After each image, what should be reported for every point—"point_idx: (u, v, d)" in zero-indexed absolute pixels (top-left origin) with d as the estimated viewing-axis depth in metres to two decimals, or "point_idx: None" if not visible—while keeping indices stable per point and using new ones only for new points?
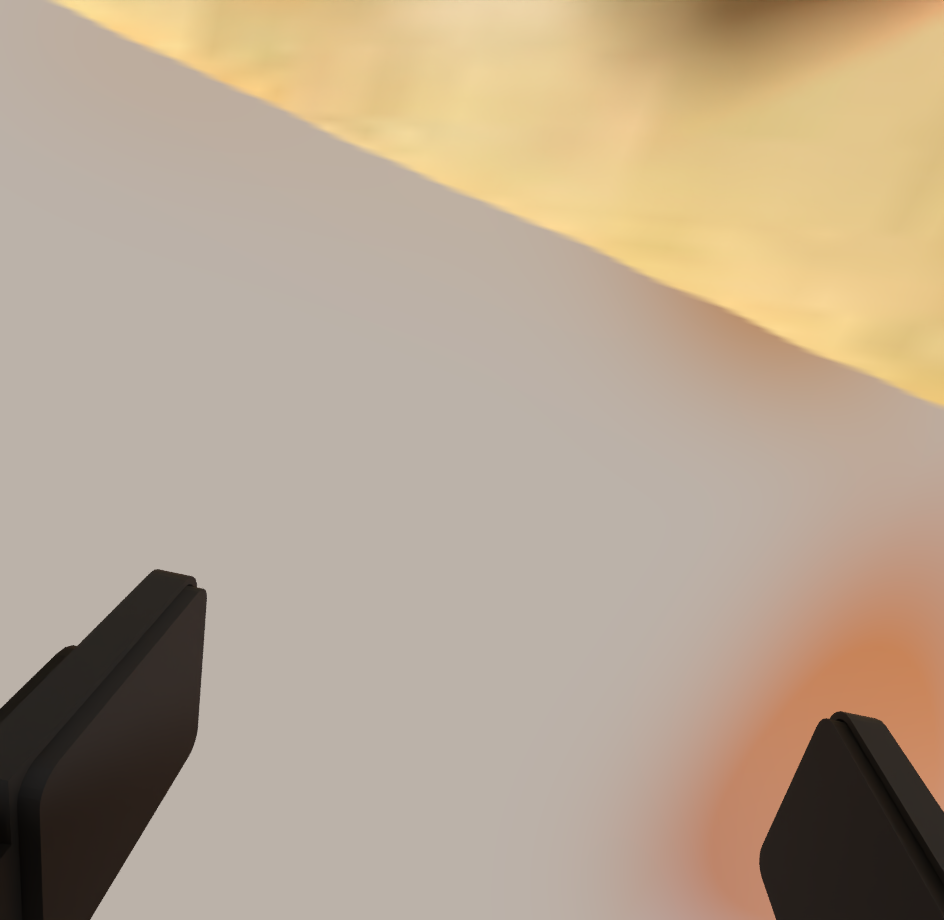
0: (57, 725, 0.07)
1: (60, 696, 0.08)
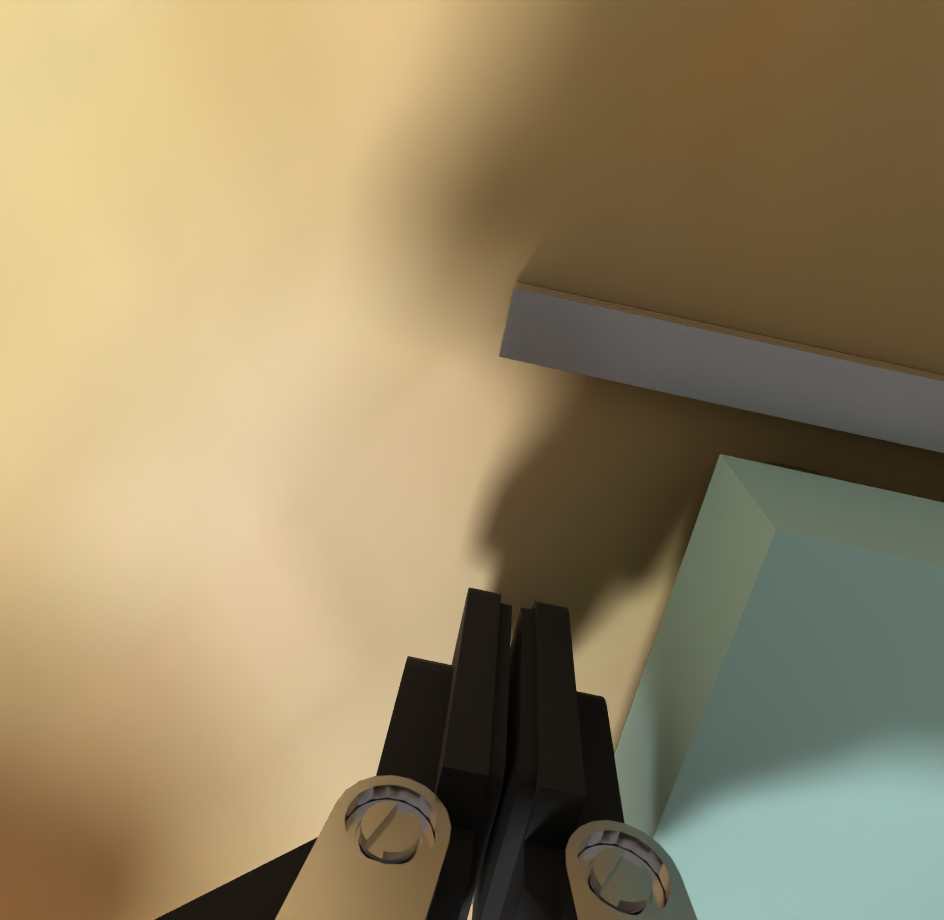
0: (491, 728, 0.08)
1: (476, 703, 0.09)
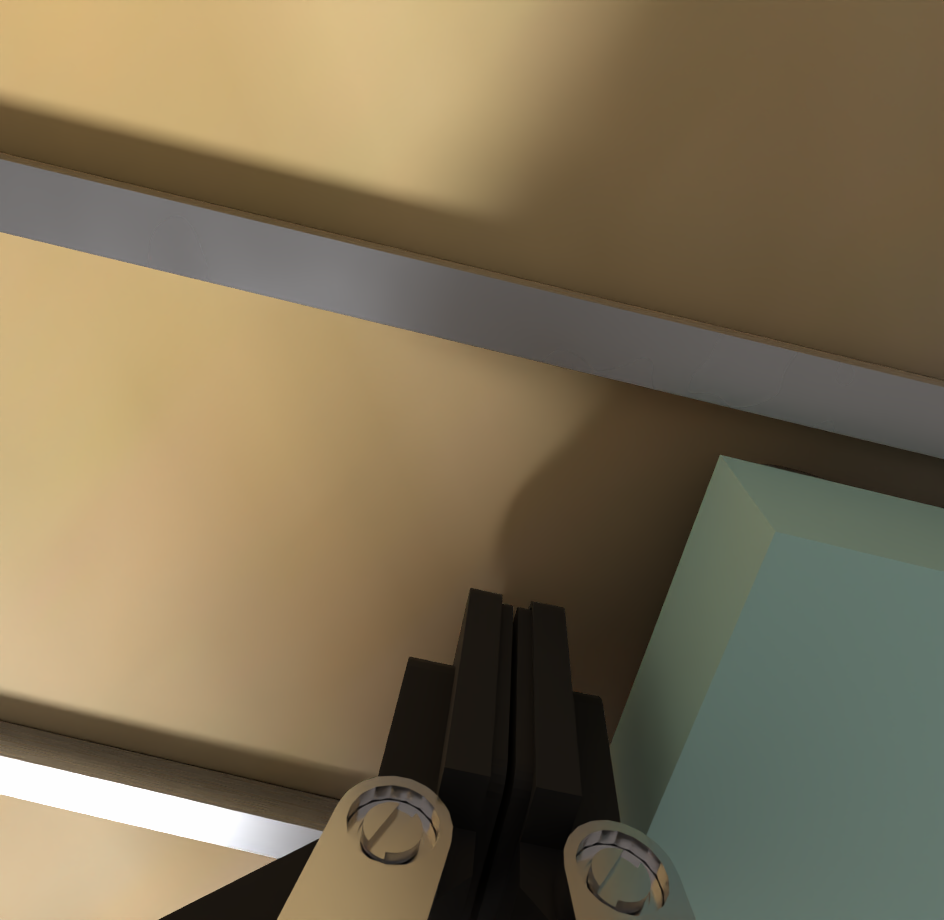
0: (493, 729, 0.08)
1: (478, 703, 0.09)
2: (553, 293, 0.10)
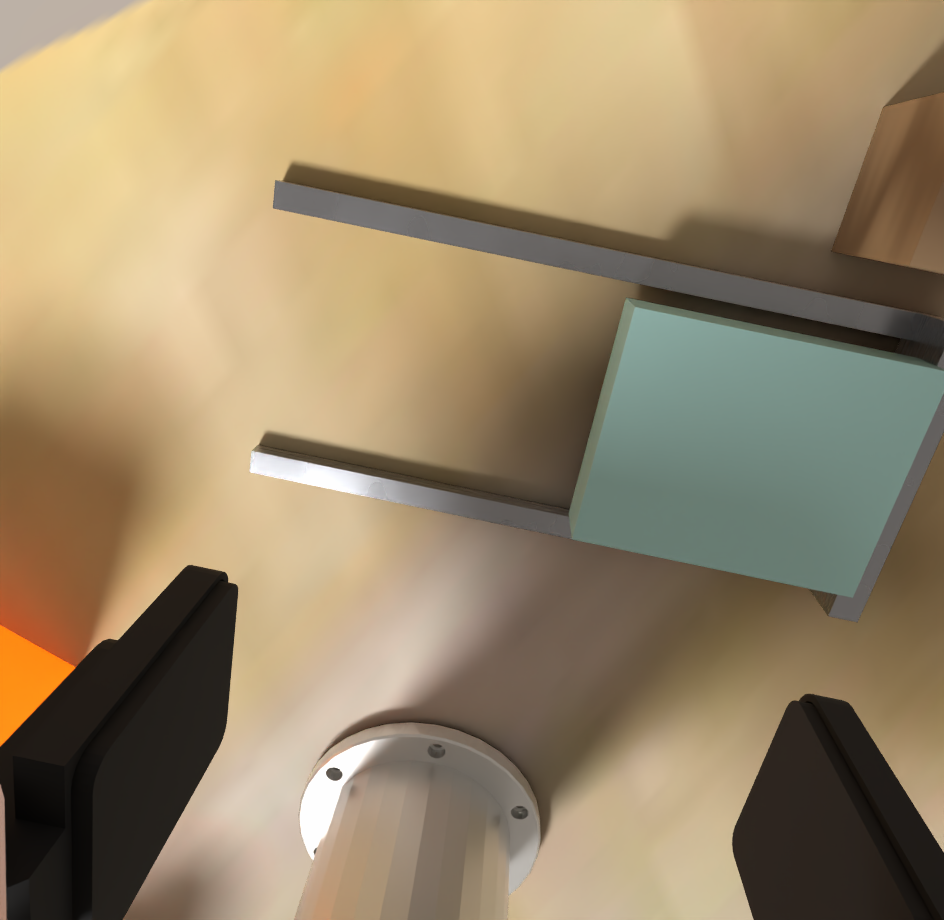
0: (106, 714, 0.07)
1: (107, 686, 0.08)
2: (562, 240, 0.27)
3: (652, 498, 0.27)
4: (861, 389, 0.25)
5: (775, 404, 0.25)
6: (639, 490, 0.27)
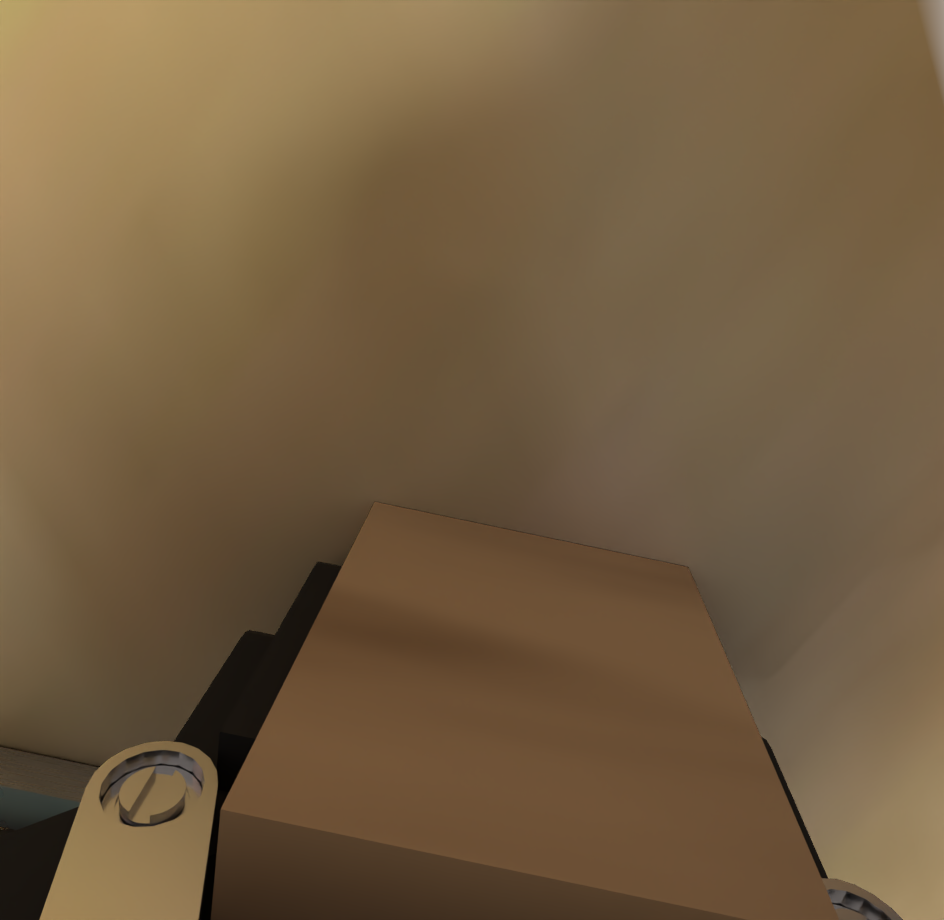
0: None
1: (281, 671, 0.09)
2: None
3: None
4: None
5: None
6: None
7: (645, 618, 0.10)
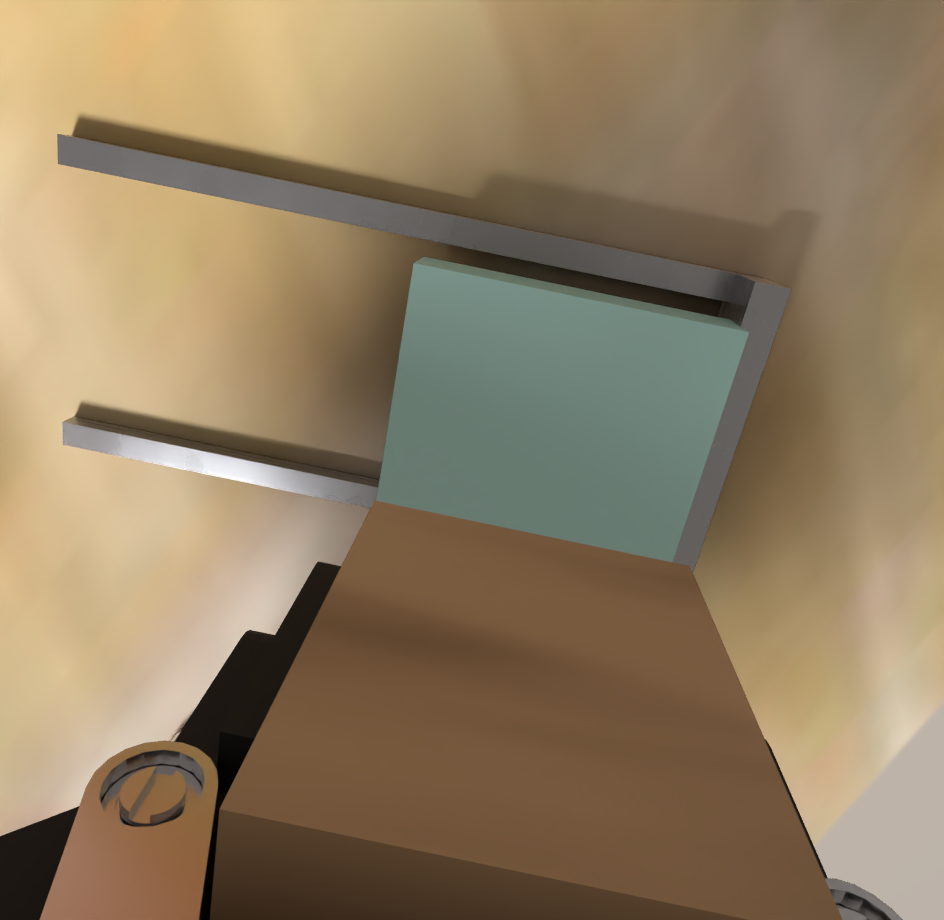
0: None
1: (281, 671, 0.09)
2: (358, 196, 0.26)
3: (452, 468, 0.26)
4: (656, 351, 0.24)
5: (569, 367, 0.24)
6: (438, 460, 0.25)
7: (646, 617, 0.09)
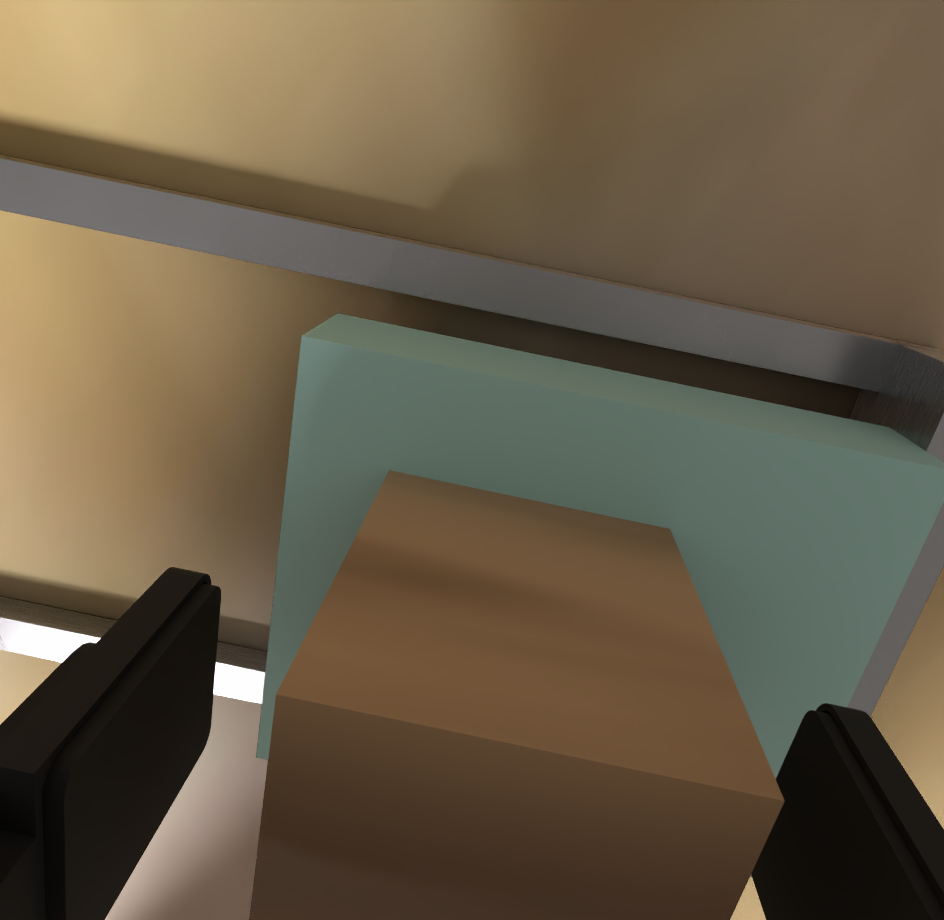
0: (80, 721, 0.07)
1: (82, 691, 0.08)
2: (222, 204, 0.14)
3: None
4: (771, 502, 0.12)
5: None
6: None
7: (629, 568, 0.11)
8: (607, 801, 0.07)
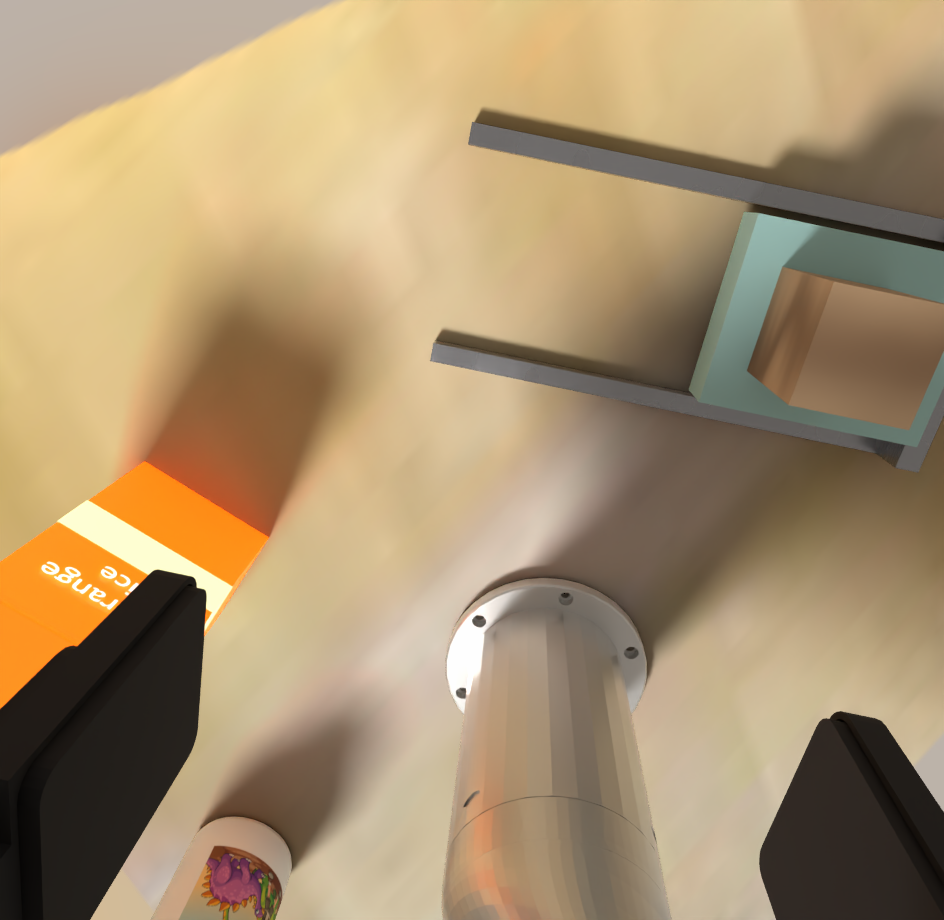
0: (57, 726, 0.07)
1: (60, 696, 0.08)
2: None
3: None
4: (928, 277, 0.33)
5: None
6: None
7: (886, 289, 0.31)
8: (915, 311, 0.28)
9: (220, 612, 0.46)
